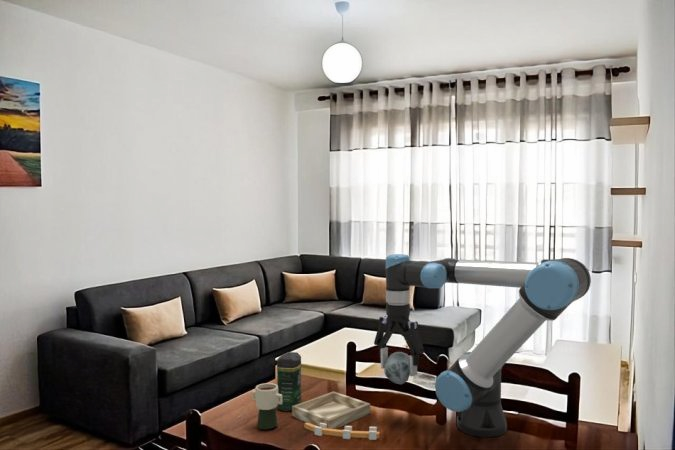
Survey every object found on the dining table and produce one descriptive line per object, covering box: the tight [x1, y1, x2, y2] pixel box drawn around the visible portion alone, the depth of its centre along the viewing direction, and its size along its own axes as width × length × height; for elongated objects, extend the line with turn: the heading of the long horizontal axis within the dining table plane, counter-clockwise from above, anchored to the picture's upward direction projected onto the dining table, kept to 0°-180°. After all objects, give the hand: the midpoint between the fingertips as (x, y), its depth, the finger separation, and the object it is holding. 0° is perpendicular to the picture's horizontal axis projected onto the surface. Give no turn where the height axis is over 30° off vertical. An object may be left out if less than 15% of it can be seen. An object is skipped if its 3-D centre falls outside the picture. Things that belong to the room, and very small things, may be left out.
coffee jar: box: [276, 351, 303, 412], centre depth 186 cm, size 10×8×19 cm
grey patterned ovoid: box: [383, 351, 411, 385], centre depth 171 cm, size 14×10×10 cm
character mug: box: [251, 382, 283, 430], centre depth 169 cm, size 11×7×13 cm, turn 68°
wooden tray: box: [291, 390, 371, 430], centre depth 178 cm, size 17×19×4 cm
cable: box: [303, 422, 380, 439], centre depth 164 cm, size 24×4×1 cm, turn 71°
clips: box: [313, 423, 378, 441], centre depth 163 cm, size 19×5×2 cm, turn 78°
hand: (398, 371), depth 171 cm, fingers closed on grey patterned ovoid, 11 cm apart
